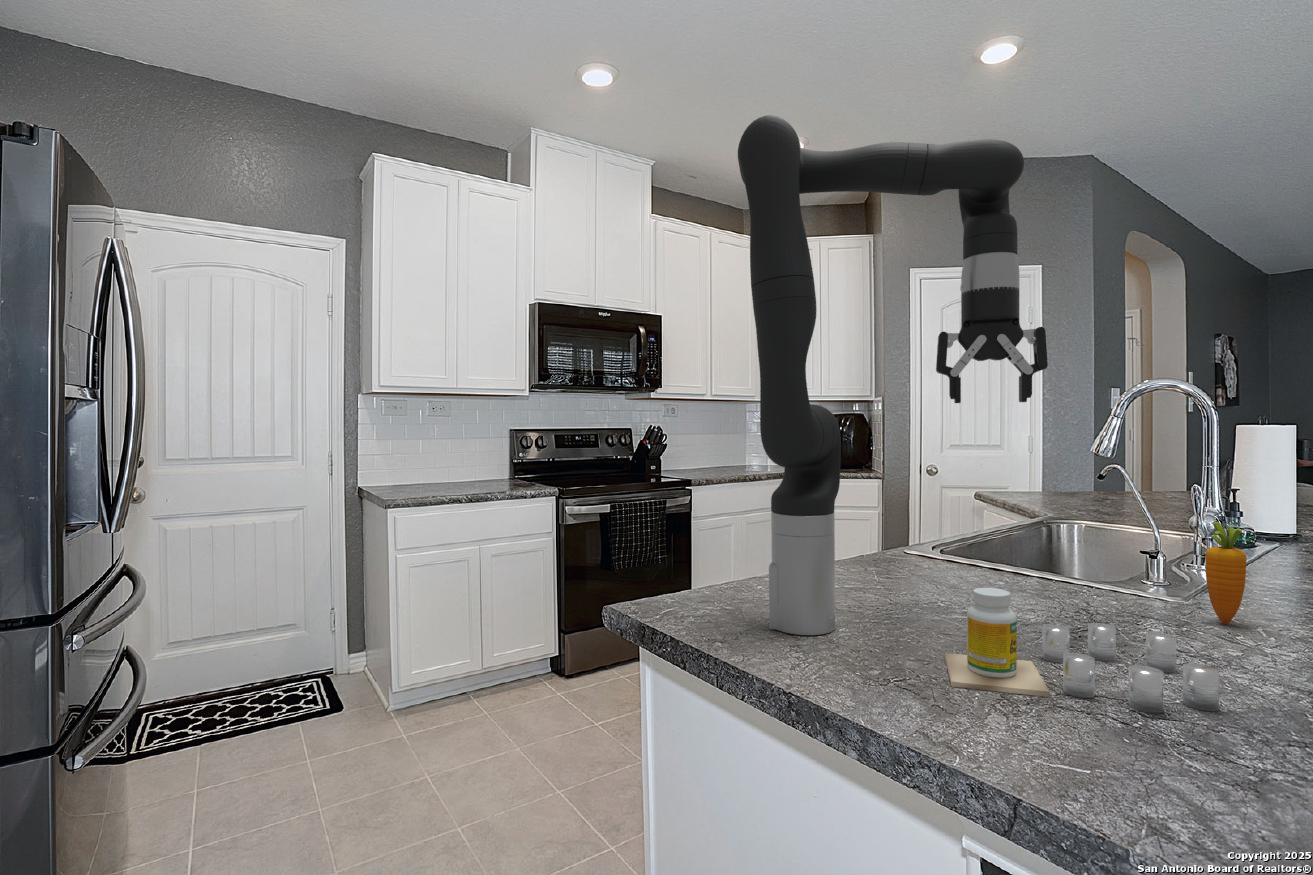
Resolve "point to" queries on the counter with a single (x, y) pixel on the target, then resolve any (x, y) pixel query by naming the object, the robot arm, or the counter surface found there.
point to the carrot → (1225, 574)
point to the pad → (1020, 683)
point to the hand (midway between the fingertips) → (989, 402)
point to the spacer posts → (1130, 668)
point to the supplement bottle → (992, 634)
